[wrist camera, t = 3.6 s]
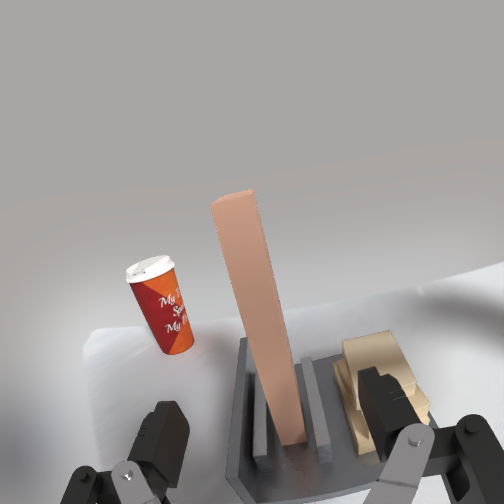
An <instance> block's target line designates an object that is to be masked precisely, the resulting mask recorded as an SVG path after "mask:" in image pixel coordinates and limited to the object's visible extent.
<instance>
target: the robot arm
mask: <svg viewBox="0 0 504 504" xmlns="http://www.w3.org/2000/svg"><path fill="white" fill-rule="evenodd" d="M357 375H358V399H359V403H360V407H361V410H362V412H363V415H364V418H365V420H366V423H367V426H368V429H369V431H370V434H371V437H372V440H373V442H374V445H375V448H376V451H377V454H378V457H379V460H380V463H384V462H387V463H386V465H385V467H384V469H383V471H382V473H381V475H380V477H379V479H378V480H376V482H375V483H374V485H373V487H372V488H371V490H370V492H369V494H368V496H367V497H366V499H365V501H364V502H363V504H411V503H412V501H413V498H414V496H415V494H416V491H417V489H418V485H419V482H420V479H421V477H427V476H433V475H440V474H441V476H442V479H443V482H444V485H445V487H446V490H447V493H448V496H449V499H450V502H451V504H504V450H503V449H502V447H501V445H500V443H499V441H498V440H497V438H496V436H495V434H494V433H493V431H492V429H491V428H490V426H489V424H488V423H487V421H486V420H485V418H483V417H482V416H480V415H477V414H470V415H467V416H464V417H463V418H461V419H460V420H459V421H458V423H457V425H456V426H451V427H445V428H438V429H437V428H431V427H429V426H428V425H425V424H423V423H422V422H421V421H420V419H419V417H418V415H417V413H416V412H415V410H414V408H413V406H412V404H411V403H410V401H409V399H408V397H407V396H406V394H405V392H404V390H402V387H401V385H400V383H399V382H398V380H397V379H396V378H395V377H393V376H392V375H390V374H389V373H388V374H385V375H382V376H380V374H379V372H378V370H377V368H376V367H375V366H372V367H369V368H365V369H362V370H358V373H357ZM189 433H190V428H189V424H188V421H187V419H186V418H185V416H184V414H183V413H182V411H181V409H180V407H179V406H178V404H177V403H176V402H175V401H160V402H158V403H157V405H156V408H155V410H154V412H150V413H149V414H148V415H147V416H146V417H145V419H144V420H143V422H142V424H141V427H140V430H139V432H138V434H137V435H138V436H137V437H136V439H135V442H134V444H133V447H132V449H131V452H130V454H129V457H128V459H127V461H123V462H120V463H119V464H117V465H116V466H115V467H114V468H113V470H112V471H105V472H96V471H95V470H94V469H93V468H92V467H90V466H81V467H79V468H77V469H76V470H75V471H74V473H73V474H72V477H71V479H70V481H69V484H68V486H67V489H66V491H65V493H64V496H63V498H62V501H61V503H60V504H96V503H97V504H173V502H172V501H171V499H170V498H169V496H168V495H167V493H166V491H167V488H177V484H178V480H179V475H180V471H181V467H182V463H183V458H184V454H185V450H186V446H187V441H188V437H189Z"/></svg>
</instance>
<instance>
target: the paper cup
mask: <svg viewBox="0 0 504 504" xmlns="http://www.w3.org/2000/svg"><path fill="white" fill-rule="evenodd" d="M174 265H175V264H174V262H172V261H171V259H170V257H168V256H158V257H153V258H149V259H147V260H144V261H141V262H139V263H137V264H134V265H133V266H131V267H129V268H128V269H127V271H126V275H127V278H126V282H128V283H129V284H130V286H131V288H132V291H133V293H134V295H135V297H136V300H137V302H138V304H139V306H140V308H141V310H142V312H143V314H144V316H145V319H146V321H147V323H148V325H149V327H150V329H151V331H152V333H153V335H154V337H155V339H156V340H157V342H158V344H159V346H160V348H161V349H162V351H163V352H164V353H165V354H169V355H174V354H179V353H182V352H184V351H186V350H187V349H189V348H190V347H191V346H192V345H193V343H194V338H193V334H192V330H191V327H190V324H189V320H188V317H187V314H186V310H185V307H184V304H183V300H182V297H181V293H180V290H179V286H178V282H177V279H176V275H175V272H174V268H173V267H174Z"/></svg>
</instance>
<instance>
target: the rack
mask: <svg viewBox="0 0 504 504" xmlns="http://www.w3.org/2000/svg"><path fill="white" fill-rule="evenodd" d="M341 359H344V355H343V354H339V355H335V356H331V357H327V358H323V359H319V360H315V361H311V357H308V358H304V359H301V364H297V365H294V368H295V373H296V378H297V383H298V387H299V392H300V397H301V402H302V409H303V415H304V422H305V428H306V435H307V442H302V443H296V444H290V445H284V446H282V445H281V442H280V439H279V436H278V433H277V430H276V427H275V424H274V421H273V418H272V415H271V412H270V409H269V406H268V403H267V400H266V397H265V394H264V390H263V387H262V384H261V381H260V378H259V374H258V371H257V368H256V365H255V362H254V358H253V355H252V352H251V348H250V345H249V342H248V339H247V337H246V338H241V339H240V348H239V357H238V366H237V375H236V384H235V393H234V402H233V411H232V421H231V430H230V439H229V448H228V457H227V466H226V476H225V478H226V479H227V481H228V482H229V483H230V485H231V486H232V487H233V489H234V490H235V491H236V493H237V494H238V495H239V496H240V498H241V499H242V500H243V501H244V503H245V504H303V503H309V502H315V501H320V500H325V499H330V498H334V497H339V496H343V495H347V494H351V493H355V492H359V491H362V490H366V489H369V488H372V487H373V485H374V483H375V482H376V480H378V479H379V477H380V475H381V473H382V471H383V469H384V467H385V465H386V463H387V462H384V463H380V460H379V457H378V454H377V451H376V450H374V451H371V452H367V453H364V454H361V455H358V452H357V448H356V445H355V441H354V438H353V435H352V431H351V428H350V425H349V421H348V418H347V415H346V412H345V408H344V405H343V402H342V399H341V396H340V393H339V389H338V386H337V383H336V380H335V377H334V374H333V366H332V362H336V361H337V360H341ZM427 416H428V417H429V419H430V421H429V425H428V426H429V427H431V428H437V429H438V428H439V427H438V426H437V424H436V422H435V420H434V419H433V417H432V415H431V413H430V412H429V410H428V414H427Z"/></svg>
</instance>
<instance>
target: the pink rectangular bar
mask: <svg viewBox="0 0 504 504" xmlns="http://www.w3.org/2000/svg"><path fill="white" fill-rule="evenodd" d="M210 207H211V211H212V215H213V218H214V222H215V226H216V230H217V233H218V237H219V240H220V244H221V248H222V252H223V255H224V259H225V262H226V266H227V270H228V273H229V277H230V280H231V284H232V287H233V291H234V294H235V298H236V301H237V305H238V308H239V312H240V315H241V318H242V322H243V325H244V329H245V332H246V335H247V339H248V342H249V345H250V348H251V352H252V355H253V358H254V362H255V365H256V368H257V371H258V374H259V378H260V381H261V384H262V387H263V390H264V394H265V397H266V400H267V403H268V406H269V409H270V412H271V415H272V418H273V421H274V424H275V427H276V430H277V433H278V436H279V439H280V442H281V445H282V446H284V445H290V444H296V443H302V442H307V435H306V428H305V422H304V415H303V409H302V402H301V397H300V392H299V387H298V383H297V378H296V373H295V368H294V364H293V359H292V355H291V350H290V345H289V341H288V336H287V332H286V327H285V323H284V318H283V314H282V309H281V305H280V300H279V296H278V292H277V287H276V283H275V278H274V274H273V270H272V265H271V261H270V257H269V252H268V248H267V244H266V240H265V235H264V231H263V227H262V222H261V218H260V214H259V210H258V206H257V202H256V197H255V193H254V190H253V189H250V190H246V191H241V192H237V193H233V194H229V195H225V196H222V197H221V198H219V199H218V200H216V201H215V202H214V203H212V204H211V205H210Z"/></svg>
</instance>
